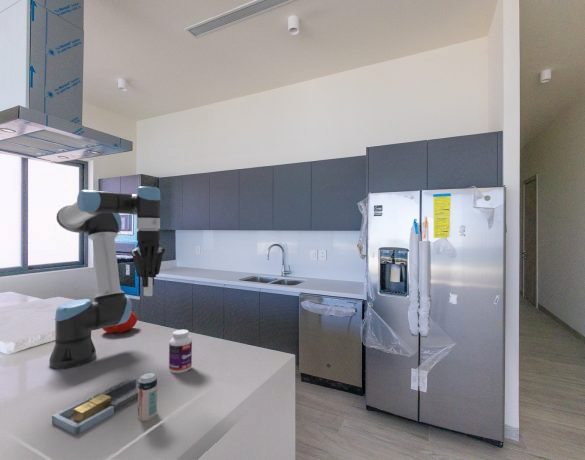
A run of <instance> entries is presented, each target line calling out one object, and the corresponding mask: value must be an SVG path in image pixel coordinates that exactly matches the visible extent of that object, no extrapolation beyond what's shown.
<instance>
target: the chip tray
mask: <svg viewBox="0 0 585 460" xmlns="http://www.w3.org/2000/svg"><path fill="white" fill-rule="evenodd" d="M91 399H93V396H92V397H91V396H89V397H87V398H85V399H83V400H81V401H79V402H77V403H75V404H73V405H70V406H68V407H67V408H65V409H62V410H60V411H59V412H56V413H55V414H53V415H51V423H52V424H54V425H55V426H58V427H60V428H62V429H63V430H66V431H68V432H69V433H71V434H73V435H75V436H77V435H79V434H80V433H82V432H84V431H86V430H88V429H89V428H91V427H93V426H95V425H96V424H98V423H99V422H101V421H103V420H105V419H106V418H108V417H110V416H112V415H114V414H115V412H114V406H110V407H108V408H106V409H105V410H103V411H101V412H99V413H97V414H95V415H94V416H92V417H90V418H88V419H86V420H84V421H83V422H78V423H77V422H75V421H72V420H71V419H69V418H68V417H70V416H72V415H73V410H74V409H75V408H77V407H79V406H81V405H83V404H85V403H87V402H89V400H91Z"/></svg>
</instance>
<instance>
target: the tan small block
mask: <svg viewBox="0 0 585 460" xmlns="http://www.w3.org/2000/svg"><path fill="white" fill-rule="evenodd" d="M95 414H97V405H95V404H93V403H91V402H87V403H85V404H83V405H81V406H79V407H77V408H75V409H74V410H73V414H72V415H73V420H74V421H77V422H78V423H81V422H83V421H84V420H86V419H88V418H90V417H92V416H94V415H95Z"/></svg>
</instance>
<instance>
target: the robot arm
mask: <svg viewBox="0 0 585 460" xmlns="http://www.w3.org/2000/svg"><path fill="white" fill-rule="evenodd" d="M161 200H162V198H161V191H160V188H158V187H155V186H146V185H145V186H138V187H137V192H136V194H135V193H123V192H113V191H112V192H111V191H101V190H94V189H81V190H80V191H79V192H78V194H77V197H76V202H74V203H73V204H69V205H66V206H63V207H61V208H60V209H59V210H58V211H57V213H56V217H55V218H56V223H58V225H59V226H60V227H61V228H62V229H64V230H66V231H69V232H72V233H78V234H87V237H88V239H89V240H91V241H92V247H93V248H92V249H93V259H94V266H95V276H96V277H95V278H96V290H97V294H96V295H95V296H94V297H93V301H92V299H89V298H83V299H75V300H71V301H69V302H65V303H62V304H61V305H59V306H58V307H57V308H56V310H55V316H54V322H55V325H54V326H55V331H54V332H55V336H54V338H55V339H54V340H55V341H54V347H53V349H52V352H51V355H50V357H49V360H48V361H49V367H51V368H53V369H69V368H73V367H74V368H75V367H77V366H82V365H84V364H85V365H86V364H87V363H89V362H91V361H93V360H94V359H95V358H96V357H97V350H96V347H95V345H94V342H93V339H92V331H97V330H101V329H102V328H106V327H110V326H116V325H119V324H122V323H125V322H127V320H128V319H129V317H130V315H131V312H132V309H133V308H132V300H131V298H130V297H129V296H127V295H126V294H125V291H124V290H122V289H121V283H120V276H119V266H118V256H117V248H116V238H117V237H118V236H119V233H120V232H121V231H122V224H123V223H122V222H123V221H122V218H121V215H122V214H124V215H128V214H129V215H135V216H136V229H137V232H136V241H137V245H136V248H134V249H132V250H130V252H129V253H130V255H131V256H132V259H133V264H134V268H135V273H136V277H138V278H142V279H141V281H142V283H141V285H142V287H143V296H144V297H152V296H153V293H154V292H153V289H154V288H153V286H155V278H156V277H157V275H160V271H161V266H162V260H163V258H164V257H163V256H164V253H165V252H166V248H162V247H161V246H160V245H161V244H160V242H159V241H160V240H161V231H160V229H161ZM120 214H121V215H120Z"/></svg>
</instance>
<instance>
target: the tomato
mask: <svg viewBox="0 0 585 460" xmlns="http://www.w3.org/2000/svg"><path fill="white" fill-rule="evenodd" d="M137 322H138V317H137V315H136V314H135V313H134V312H133V311H131V315H130V317H129V319H128V320H127V322H125V323H122V324H119V325H116V326H110V327H106V328H101V329H102V330H103V331H104V332H107V333H109V334H115V333H124V332H127V331H128V330H131V329H133V328H134V327H135V326H136V324H137Z"/></svg>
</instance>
